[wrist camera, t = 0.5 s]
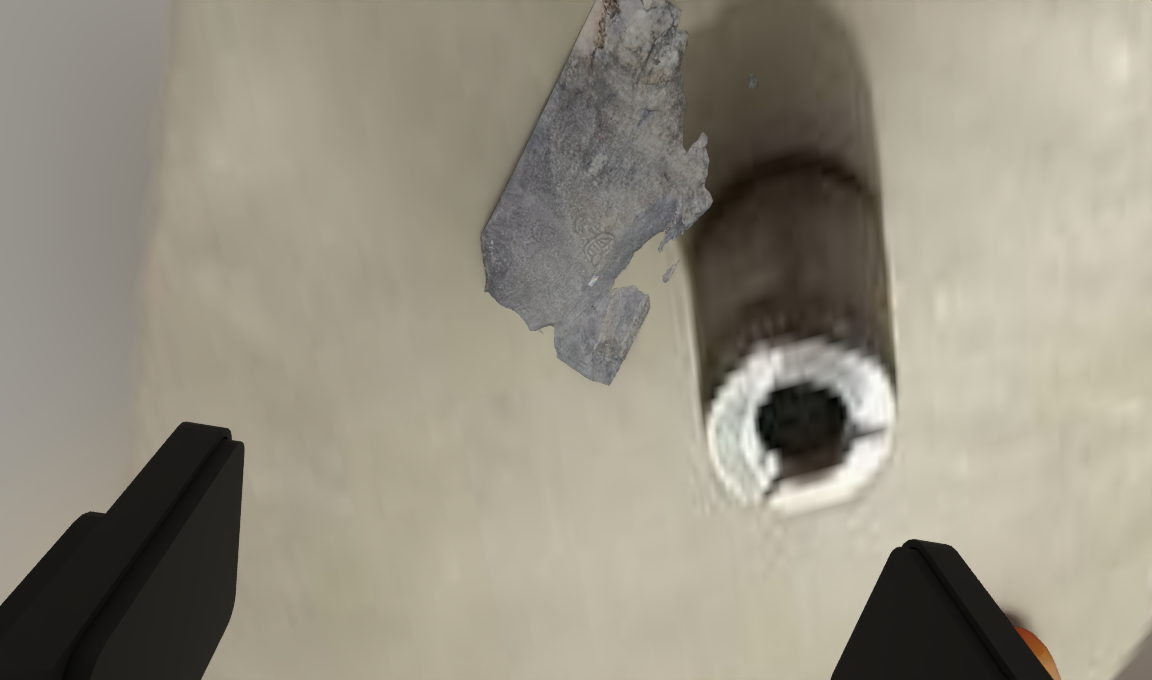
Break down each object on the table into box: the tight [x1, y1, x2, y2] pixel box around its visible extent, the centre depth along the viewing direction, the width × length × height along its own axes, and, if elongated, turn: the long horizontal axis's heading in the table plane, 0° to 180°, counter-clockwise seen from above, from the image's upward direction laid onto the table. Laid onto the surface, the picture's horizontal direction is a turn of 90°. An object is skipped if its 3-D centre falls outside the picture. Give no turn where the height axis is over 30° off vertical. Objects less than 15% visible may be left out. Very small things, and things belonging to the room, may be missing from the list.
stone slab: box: [481, 0, 758, 386], centre depth 38 cm, size 18×2×10 cm
